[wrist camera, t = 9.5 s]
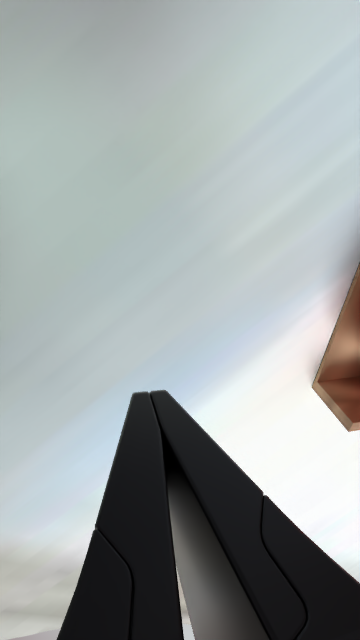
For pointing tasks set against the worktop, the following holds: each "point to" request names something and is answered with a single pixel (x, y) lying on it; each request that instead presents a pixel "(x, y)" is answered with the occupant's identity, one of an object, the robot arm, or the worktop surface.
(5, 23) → the worktop surface
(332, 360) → the tray
